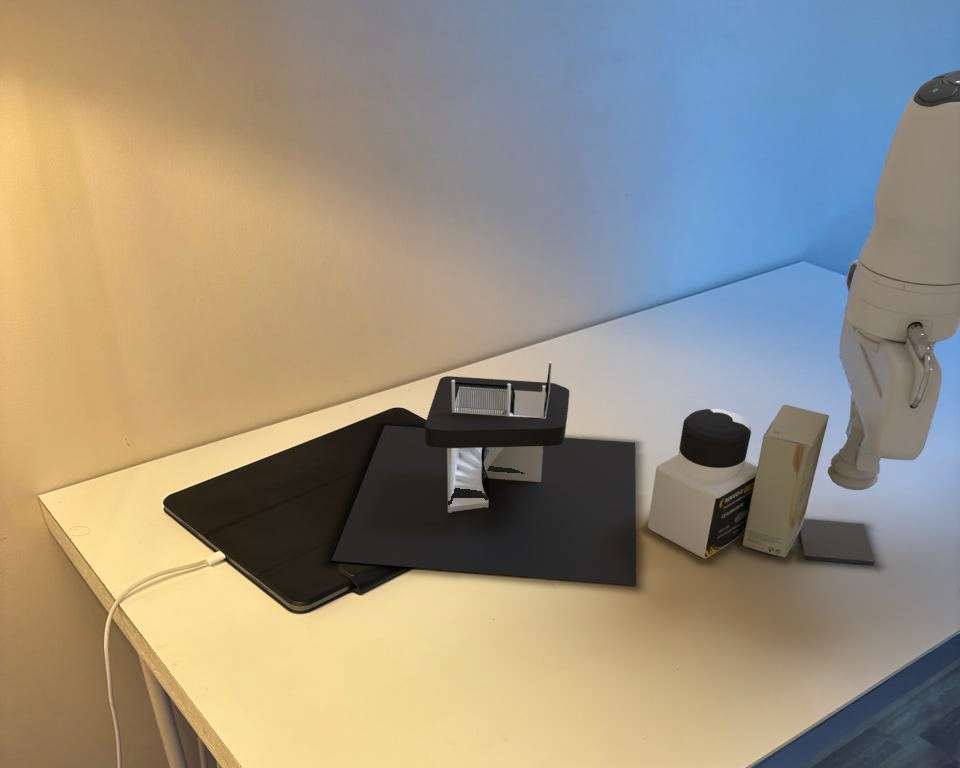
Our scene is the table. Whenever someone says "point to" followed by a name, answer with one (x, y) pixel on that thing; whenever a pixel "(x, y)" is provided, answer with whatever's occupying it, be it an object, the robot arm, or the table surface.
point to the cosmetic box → (784, 479)
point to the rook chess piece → (852, 461)
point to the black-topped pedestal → (497, 490)
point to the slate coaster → (835, 542)
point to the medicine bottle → (705, 484)
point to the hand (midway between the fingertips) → (859, 453)
